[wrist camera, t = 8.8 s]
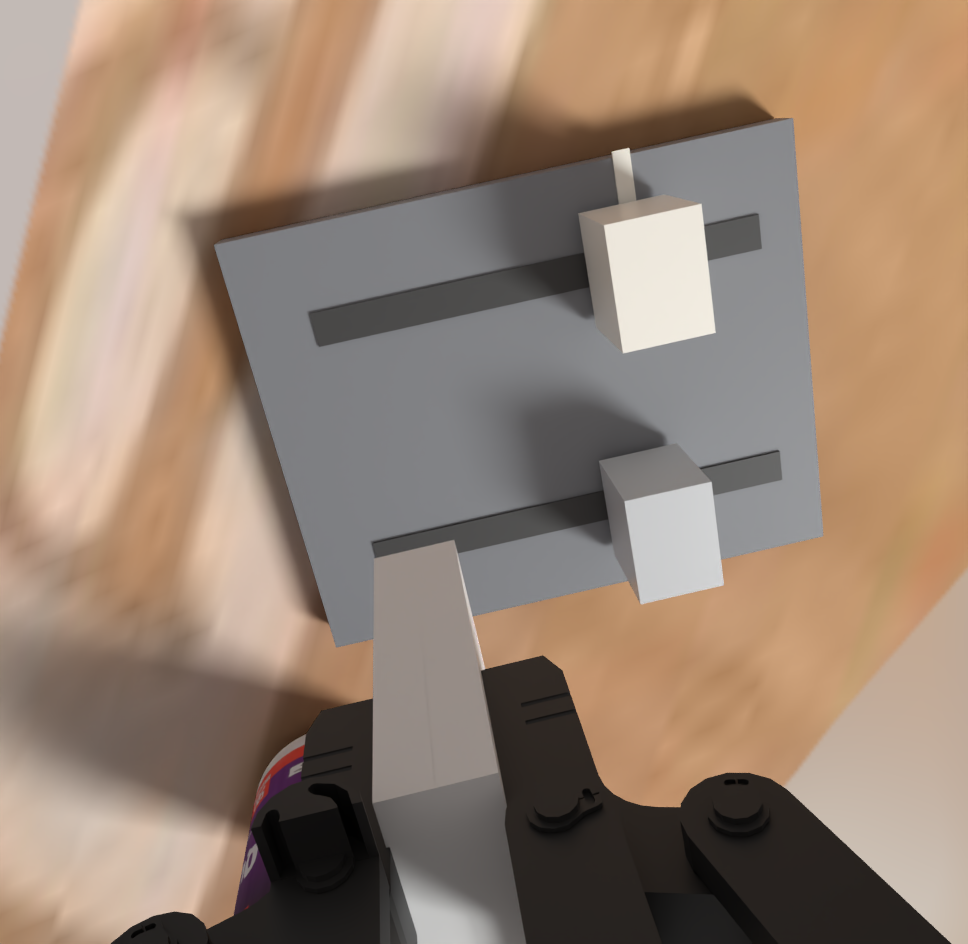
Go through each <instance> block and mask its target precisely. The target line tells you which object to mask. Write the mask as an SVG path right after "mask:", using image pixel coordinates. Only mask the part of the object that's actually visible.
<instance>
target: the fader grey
mask: <svg viewBox="0 0 968 944" xmlns="http://www.w3.org/2000/svg"><path fill="white" fill-rule="evenodd" d="M599 465H600V471H601V477H602V483H603V489H604V495H605V501H606V507H607V513H608V519H609V525H610V531H611V537H612V543H613V549H614V555H615V557H616V559H617V560H618V562H619V564H620V566H621V568H622V570H623V572H624V574H625V576H626V578H627V579H628V581H629V583H630V585H631V587H632V589H633V591H634V593H635V595H636V596H637V598H638V600H639V602H640V604H644V603H648V602H653V601H657V600H662V599H666V598H670V597H675V596H679V595H683V594H688V593H692V592H696V591H701V590H705V589H710V588H714V587H718V586H723V585H724V582H723V573H722V565H721V556H720V548H719V540H718V531H717V523H716V515H715V506H714V498H713V489H712V482H711V480H710V479H709V478H708V477H707V476H706V475H705V474H704V473H703V472H702V471H701V469H700V468H699V467H698V466H697V465H696V464H695V463H694V462H693V461H692V460H691V459H690V457H689V456H688V455H687V454H686V453H685V452H684V451H683V450H682V449H681V448H680V446H679V445H678V444H677V443H675V444H671V445H667V446H662V447H658V448H653V449H649V450H644V451H640V452H636V453H631V454H627V455H622V456H618V457H613V458H609V459H605V460H600V461H599Z"/></svg>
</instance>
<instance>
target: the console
mask: <svg viewBox="0 0 968 944" xmlns="http://www.w3.org/2000/svg"><path fill="white" fill-rule="evenodd" d="M611 153H612V154H611V155H606V156H602V157H597V158H593V159H588V160H584V161H579V162H574V163H570V164H565V165H561V166H556V167H552V168H547V169H543V170H538V171H533V172H529V173H524V174H520V175H515V176H511V177H506V178H501V179H497V180H492V181H488V182H483V183H479V184H474V185H469V186H465V187H460V188H456V189H451V190H447V191H442V192H438V193H433V194H428V195H424V196H419V197H415V198H410V199H406V200H401V201H396V202H392V203H387V204H383V205H378V206H374V207H369V208H364V209H360V210H355V211H351V212H346V213H342V214H337V215H333V216H328V217H323V218H319V219H314V220H310V221H305V222H301V223H296V224H291V225H287V226H282V227H278V228H273V229H269V230H264V231H259V232H255V233H250V234H246V235H241V236H237V237H232V238H228V239H223V240H220V241H219V242H217V243H216V244H215V245H214V247H215V251H216V254H217V257H218V261H219V264H220V267H221V270H222V274H223V277H224V280H225V284H226V287H227V290H228V293H229V297H230V300H231V303H232V307H233V310H234V313H235V316H236V320H237V323H238V326H239V330H240V333H241V336H242V339H243V343H244V346H245V349H246V353H247V356H248V359H249V362H250V366H251V369H252V372H253V375H254V379H255V382H256V385H257V389H258V392H259V395H260V398H261V402H262V405H263V408H264V412H265V415H266V418H267V421H268V425H269V428H270V431H271V435H272V438H273V441H274V444H275V448H276V451H277V454H278V458H279V461H280V464H281V467H282V471H283V474H284V477H285V481H286V484H287V487H288V490H289V494H290V497H291V500H292V504H293V507H294V510H295V513H296V517H297V520H298V523H299V527H300V530H301V533H302V536H303V540H304V543H305V546H306V550H307V553H308V556H309V559H310V563H311V566H312V569H313V573H314V576H315V579H316V582H317V586H318V589H319V592H320V596H321V599H322V602H323V605H324V609H325V612H326V615H327V619H328V622H329V625H330V628H331V632H332V635H333V638H334V642H335V645H336V647H341V646H345V645H349V644H354V643H358V642H362V641H367V640H371V639H373V638H374V558H379V557H383V556H387V555H391V554H396V553H400V552H404V551H409V550H413V549H417V548H421V547H426V546H430V545H434V544H438V543H443V542H447V541H451V540H454V541H455V545H456V550H457V554H458V558H459V562H460V566H461V570H462V575H463V579H464V583H465V587H466V591H467V595H468V600H469V604H470V608H471V612H472V616H476V615H481V614H485V613H489V612H494V611H498V610H503V609H507V608H511V607H516V606H520V605H524V604H529V603H533V602H538V601H542V600H546V599H551V598H555V597H559V596H564V595H568V594H573V593H577V592H581V591H586V590H590V589H594V588H599V587H603V586H608V585H612V584H616V583H621V582H625V581H628V579H627V578H626V576H625V574H624V572H623V570H622V568H621V566H620V564H619V562H618V560H617V559H616V557H615V555H614V549H613V543H612V537H611V531H610V525H609V519H608V513H607V507H606V501H605V495H604V489H603V483H602V477H601V471H600V465H599V461H600V460H605V459H609V458H613V457H618V456H622V455H627V454H631V453H636V452H640V451H644V450H649V449H653V448H658V447H662V446H667V445H671V444H675V443H677V444H678V445H679V446H680V448H681V449H682V450H683V451H684V452H685V453H686V454H687V455H688V456H689V457H690V459H691V460H692V461H693V462H694V463H695V464H696V465H697V466H698V467H699V468H700V469H701V471H702V472H703V473H704V474H705V475H706V476H707V477H708V478H709V479H710V480H711V482H712V489H713V498H714V506H715V515H716V523H717V531H718V540H719V548H720V556H721V559H726V558H730V557H735V556H739V555H743V554H748V553H752V552H756V551H761V550H765V549H770V548H774V547H778V546H783V545H787V544H792V543H796V542H800V541H805V540H809V539H813V538H818V537H822V536H823V525H822V511H821V497H820V483H819V469H818V456H817V442H816V428H815V414H814V400H813V387H812V373H811V359H810V345H809V331H808V318H807V304H806V290H805V276H804V262H803V249H802V235H801V221H800V207H799V193H798V180H797V166H796V152H795V138H794V124H793V118H775V119H771V120H766V121H762V122H757V123H753V124H748V125H743V126H739V127H734V128H730V129H725V130H721V131H716V132H711V133H707V134H702V135H698V136H693V137H689V138H684V139H679V140H675V141H670V142H666V143H661V144H657V145H652V146H648V147H643V148H638V149H634V150H630V149H629V148H625V149H621V150H616V151H612V152H611ZM659 195H668V196H672V197H676V198H680V199H684V200H688V201H693V202H697V203H701V204H702V213H703V222H704V231H705V240H706V249H707V258H708V267H709V276H710V285H711V294H712V304H713V313H714V322H715V331H716V333H713V334H708V335H704V336H699V337H695V338H690V339H686V340H681V341H677V342H672V343H668V344H664V345H659V346H655V347H650V348H646V349H641V350H637V351H632V352H628V353H622V352H621V351H620V350H619V349H618V348H617V347H616V346H615V345H614V344H613V343H612V342H611V341H610V340H609V339H608V338H607V337H605V336H604V335H603V334H602V333H601V332H600V331H599V330H598V329H597V328H596V323H595V317H594V310H593V304H592V298H591V292H590V285H589V279H588V273H587V266H586V260H585V254H584V247H583V241H582V235H581V229H580V222H579V216H578V213H582V212H587V211H591V210H596V209H600V208H605V207H609V206H614V205H618V204H623V203H628V202H632V201H637V200H641V199H646V198H650V197H655V196H659Z"/></svg>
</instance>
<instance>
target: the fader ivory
mask: <svg viewBox="0 0 968 944" xmlns="http://www.w3.org/2000/svg"><path fill="white" fill-rule="evenodd" d="M578 216H579V222H580V229H581V235H582V241H583V247H584V254H585V260H586V266H587V273H588V279H589V285H590V292H591V298H592V304H593V310H594V317H595V323H596V328H597V329H598V330H599V331H600V332H601V333H602V334H603V335H604V336H605V337H607V338H608V339H609V340H610V341H611V342H612V343H613V344H614V345H615V346H616V347H617V348H618V349H619V350H620V351H621V352H622V353H628V352H632V351H637V350H641V349H646V348H650V347H655V346H659V345H664V344H668V343H672V342H677V341H681V340H686V339H690V338H695V337H699V336H704V335H708V334H713V333H716V331H715V322H714V313H713V304H712V294H711V285H710V276H709V267H708V258H707V249H706V240H705V231H704V222H703V213H702V204H701V203H697V202H693V201H688V200H684V199H680V198H676V197H672V196H668V195H659V196H655V197H650V198H646V199H641V200H637V201H632V202H628V203H623V204H618V205H614V206H609V207H605V208H600V209H596V210H591V211H587V212H582V213H578Z"/></svg>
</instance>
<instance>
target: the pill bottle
mask: <svg viewBox="0 0 968 944" xmlns="http://www.w3.org/2000/svg"><path fill="white" fill-rule="evenodd" d="M305 737H306V734H305V735H303V736H301V737H299V738H297V739H296V740H294V741H293V742H291V743H290V744H288V745H287V746H286V747H284V748H283V749H282V750H281V751H280V752H279V753H278V754H277V755H276V756H275V757H274V758H273V760H272V761H271V762H270V764H269V765H268V767H267V768H266V770H265V772H264V774H263V776H262V778H261V780H260V783H259V786H258V789H257V794H256V798H255V802H254V807H253V813H252V819H251V825H250V830H249V836H248V841H247V847H246V852H245V858H244V863H243V868H242V874H241V879H240V884H239V890H238V895H237V900H236V906H235V911H234V915H236V914H238V913H240V912H242V911H243V910H245V909H247V908H248V907H250V906H252V905H253V904H255V903H256V902H258V901H259V900H260V899H261V898H262V897H264V896H265V895H266V894H267V893H268V892H269V891H270V885H271V882H270V879H269V876H268V874H267V871H266V868H265V866H264V863H263V860H262V858H261V855H260V852H259V850H258V847H257V845H256V842H255V839H254V837H253V834H252V831H251V826H252V824H253V822H254V819H255V817H256V815H257V813H258V811H259V810H260V809H261V808H262V807H263V806H264V805H265V804H266V803H267V802H268V800H269V799H270V798H271V797H273V796H274V795H276V794H277V793H279V792H280V791H282V790H283V789H285V788H287V787H288V786H290V785H292V784H295V783H298V782H300V781H301V771H302V763H303V762H304V760H303V754H304V746H305Z"/></svg>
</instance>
